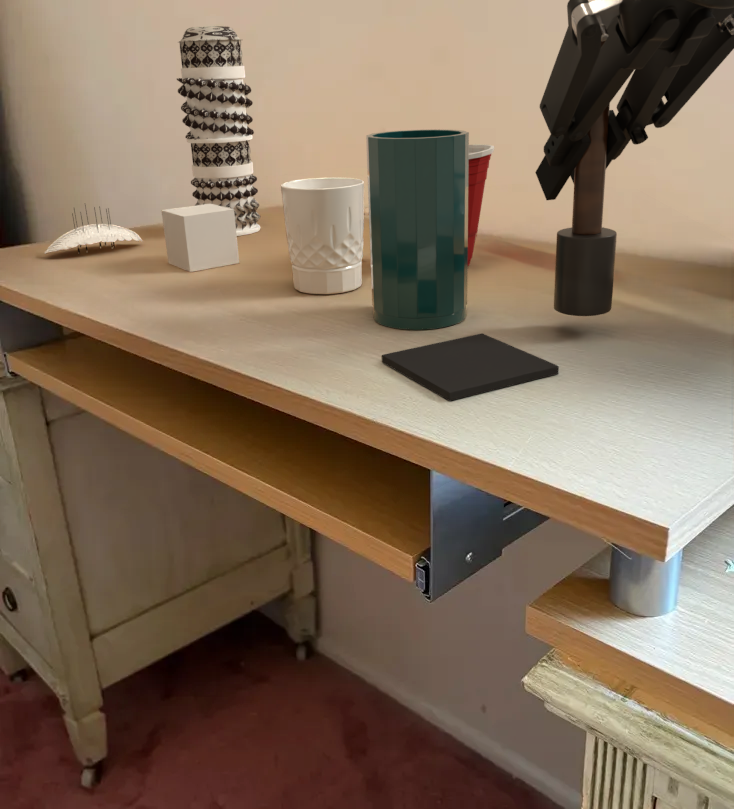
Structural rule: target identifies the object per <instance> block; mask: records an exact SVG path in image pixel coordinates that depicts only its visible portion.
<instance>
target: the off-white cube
mask: <svg viewBox="0 0 734 809" xmlns="http://www.w3.org/2000/svg"><path fill="white" fill-rule="evenodd" d="M160 212H161V217H162V225H163V226H162V227H163V233H164V240H165V248H166V249H165V250H166V255H167V256H166V257H167V263H168V264H169V265H172V266H174V267H176V268H180V269H182V270H184V271H186V272H189V273H192V272H199V271H203V270H209V269H214V268H221V267H226V266H231V265H237V264H240V258H239V257H240V256H239V254H240V253H239V245H238V244H239V243H238V236H237V234H236V224H235V213H234V209H231V208H226V207H222V206H218V205H214V204H203V205H196V206H195V205H189V206H181V207H175V208H167V209H162V210H161V211H160Z"/></svg>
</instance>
